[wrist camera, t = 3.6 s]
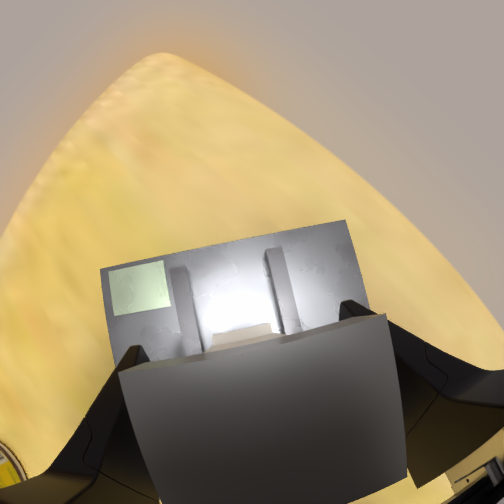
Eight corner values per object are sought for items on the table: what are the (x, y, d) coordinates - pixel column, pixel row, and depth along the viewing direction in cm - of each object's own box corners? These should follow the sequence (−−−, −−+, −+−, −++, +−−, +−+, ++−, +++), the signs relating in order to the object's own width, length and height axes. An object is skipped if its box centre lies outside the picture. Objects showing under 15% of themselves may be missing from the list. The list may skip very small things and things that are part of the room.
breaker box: (378, 436, 15) (400, 450, 12) (166, 484, 13) (155, 507, 10) (334, 230, 18) (351, 213, 15) (113, 275, 17) (92, 265, 14)
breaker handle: (289, 378, 13) (407, 480, 3) (218, 393, 13) (179, 538, 3) (276, 321, 14) (384, 306, 4) (204, 336, 14) (116, 364, 3)
